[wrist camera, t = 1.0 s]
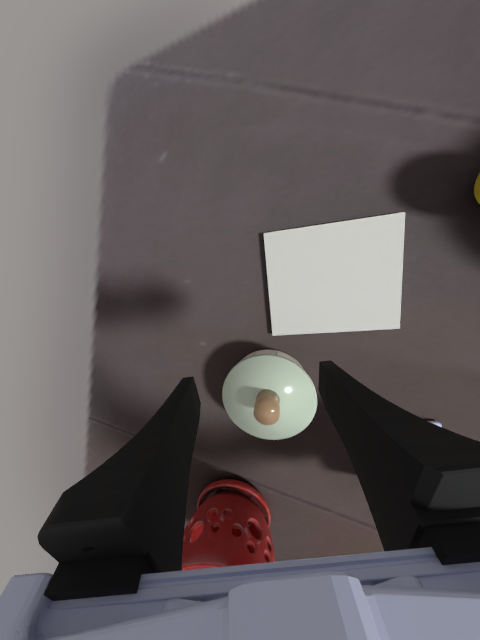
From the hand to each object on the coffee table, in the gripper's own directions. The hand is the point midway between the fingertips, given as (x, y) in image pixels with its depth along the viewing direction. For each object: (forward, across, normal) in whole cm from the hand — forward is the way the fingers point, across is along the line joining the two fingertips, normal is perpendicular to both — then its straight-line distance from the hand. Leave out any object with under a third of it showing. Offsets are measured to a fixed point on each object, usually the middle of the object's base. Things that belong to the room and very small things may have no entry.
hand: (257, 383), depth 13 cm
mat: (+15, -10, -1) cm, 18 cm away
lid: (+10, -1, +12) cm, 16 cm away
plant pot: (+10, +5, +33) cm, 35 cm away
